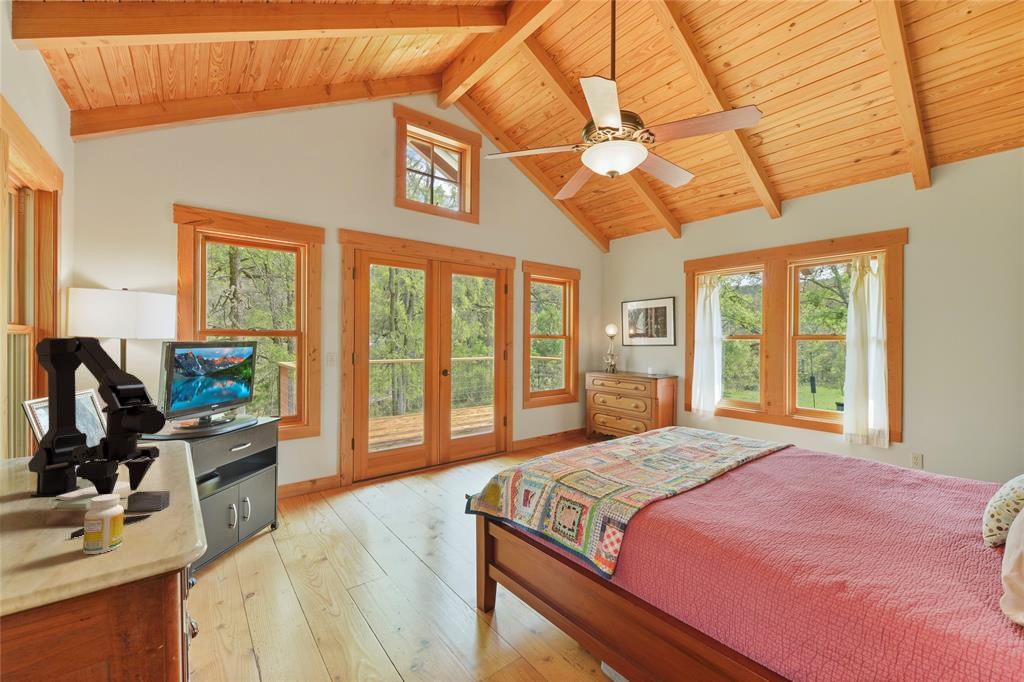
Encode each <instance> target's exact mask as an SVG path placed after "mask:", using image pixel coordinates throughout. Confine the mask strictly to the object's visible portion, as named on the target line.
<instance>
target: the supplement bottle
mask: <svg viewBox="0 0 1024 682" xmlns="http://www.w3.org/2000/svg"><path fill="white" fill-rule="evenodd" d="M120 496H121V495H120V494H119V493H112V494H106V495H101V496H97V497H94V498H92V499H91V505H90V506H91V508H92V509H91V510H89V511H88V512H87V513H86V514H85V522H84V524H83V525H84V527H83V528H84V536H83V542H82V552H83V553H84V554H85V555H88V554H95V555H100V554H99V553H101V554H105V553H104V552H106V553H108V552H107V551H109V552H112V551H115V550H116V549H118V548H120V547H121V545H122V544H123V535H124V534H123V533H124V532H123V530H124V529H123V528H124V525H123V517H124V516H125V514H124V513H125V512H124V510H125V509H124V507H123V506H122V505H120V504H119V503H120V501H121V497H120ZM119 546H120V547H119ZM111 550H112V551H111Z"/></svg>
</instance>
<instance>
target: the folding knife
mask: <svg viewBox="0 0 1024 682" xmlns="http://www.w3.org/2000/svg"><path fill="white" fill-rule="evenodd" d="M151 516H153V514H140V515H128V516H123V526H126V524H127V525H131V524H134V522H136V523H138V522H137V521H139V522H142V521H144V520H147V519H148V518H151ZM141 520H142V521H141ZM130 523H131V524H130ZM82 535H84V527H82V528H80V529H77V530H75V531H72V532H70V539H71V540H73V539H72V538H74V537H79V536H82ZM79 538H80V537H79Z"/></svg>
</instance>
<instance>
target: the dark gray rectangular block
mask: <svg viewBox="0 0 1024 682" xmlns="http://www.w3.org/2000/svg"><path fill="white" fill-rule="evenodd" d="M170 493H171V491H170V490H155V491H154V490H152V491H150V490H149V491H135V492H133V493H132V494H129V495H127V512H145V511H146V512H147V511H152V510H155V511H162V510H164V509H166V508H168V507H169V506H170V496H171V494H170Z"/></svg>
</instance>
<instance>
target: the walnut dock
mask: <svg viewBox="0 0 1024 682" xmlns="http://www.w3.org/2000/svg"><path fill="white" fill-rule="evenodd" d="M91 509H92V508H81V509H57V506H55V507H54V508H51V509H49V510H47V511H46V526H67V525H69V526H70V525H72V524H76V525H84V522H85V514H86V513H87V512H88V511H89V510H91Z"/></svg>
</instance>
